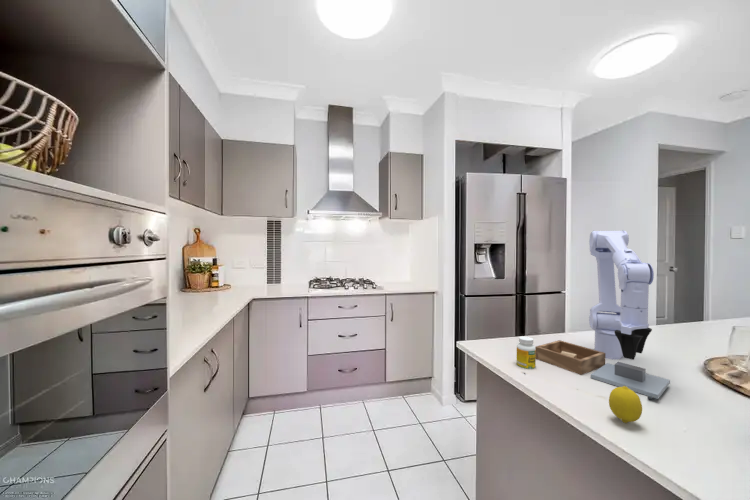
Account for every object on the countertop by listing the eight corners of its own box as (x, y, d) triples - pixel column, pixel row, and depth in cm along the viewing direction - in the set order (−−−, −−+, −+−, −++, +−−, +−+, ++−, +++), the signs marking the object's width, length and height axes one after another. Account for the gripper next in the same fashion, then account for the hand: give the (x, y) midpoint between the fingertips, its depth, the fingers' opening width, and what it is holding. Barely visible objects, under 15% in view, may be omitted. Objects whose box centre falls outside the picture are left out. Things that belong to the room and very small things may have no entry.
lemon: (602, 415, 67) (602, 381, 66) (624, 414, 67) (625, 380, 67) (624, 431, 61) (625, 393, 61) (649, 430, 62) (649, 392, 61)
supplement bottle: (522, 363, 96) (522, 334, 95) (538, 369, 91) (539, 339, 91) (512, 367, 93) (513, 337, 93) (529, 373, 88) (530, 342, 88)
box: (559, 354, 104) (559, 340, 104) (605, 368, 92) (605, 353, 92) (535, 361, 98) (535, 346, 97) (581, 378, 85) (581, 361, 85)
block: (562, 356, 99) (562, 351, 99) (576, 360, 96) (576, 354, 96) (559, 360, 96) (559, 354, 96) (573, 363, 93) (573, 357, 93)
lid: (607, 370, 91) (607, 353, 91) (669, 388, 80) (670, 368, 80) (590, 383, 83) (590, 363, 83) (657, 405, 72) (658, 382, 72)
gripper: (623, 301, 88) (622, 345, 89) (607, 307, 80) (606, 356, 80) (655, 305, 83) (654, 352, 83) (641, 312, 74) (640, 365, 74)
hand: (632, 355), depth 81 cm, fingers open, 7 cm apart
